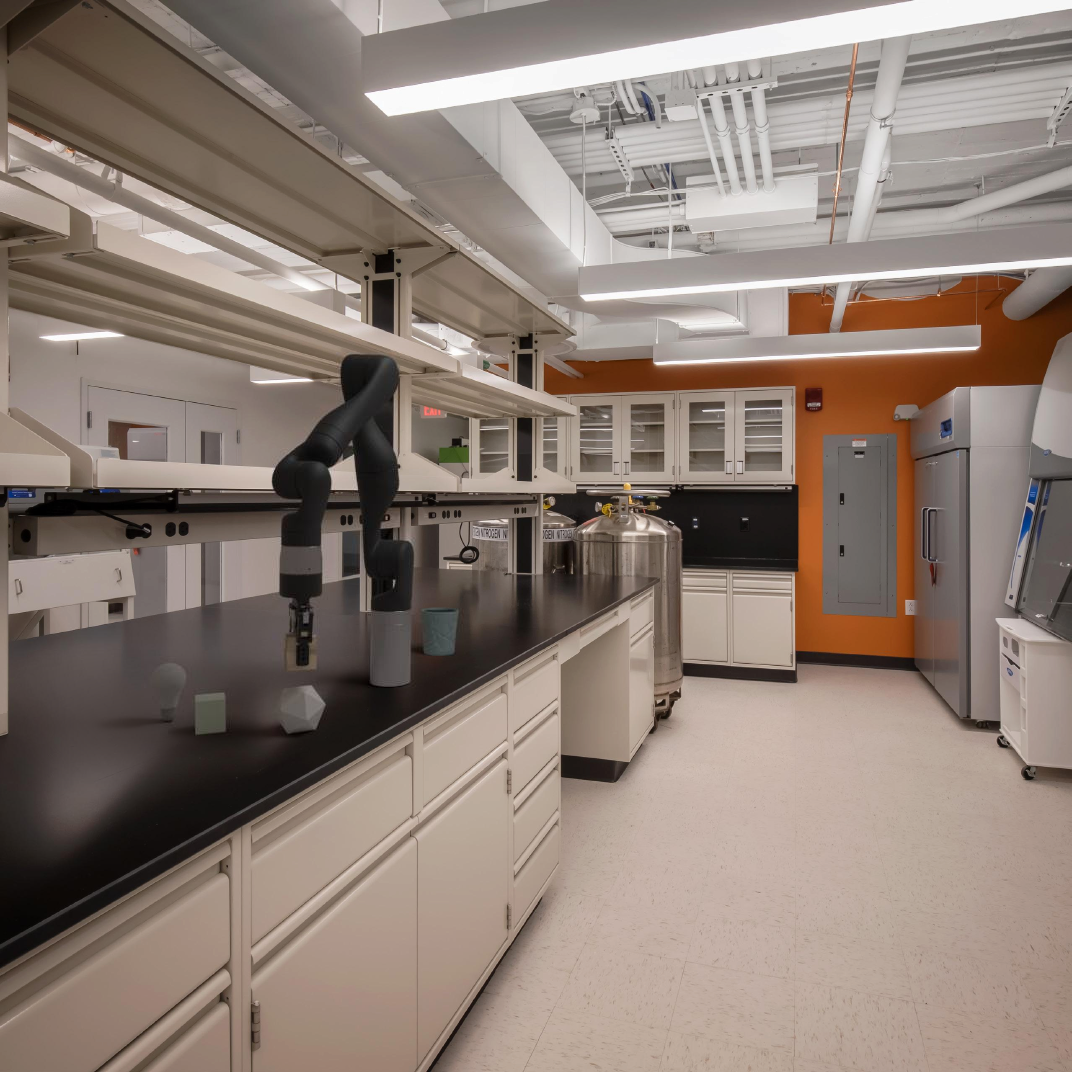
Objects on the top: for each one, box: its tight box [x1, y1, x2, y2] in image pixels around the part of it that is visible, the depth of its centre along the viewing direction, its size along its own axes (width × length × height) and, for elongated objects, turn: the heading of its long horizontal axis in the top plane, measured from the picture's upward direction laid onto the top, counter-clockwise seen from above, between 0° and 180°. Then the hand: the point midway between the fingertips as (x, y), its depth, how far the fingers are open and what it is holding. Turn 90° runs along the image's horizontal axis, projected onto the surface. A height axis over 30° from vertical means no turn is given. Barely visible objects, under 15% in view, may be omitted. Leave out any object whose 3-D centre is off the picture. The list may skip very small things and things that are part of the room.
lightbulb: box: [149, 662, 187, 722], centre depth 140 cm, size 6×6×11 cm
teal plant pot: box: [421, 607, 459, 657], centre depth 207 cm, size 10×10×12 cm
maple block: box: [283, 631, 318, 672], centre depth 136 cm, size 5×5×6 cm
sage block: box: [194, 692, 227, 736], centre depth 136 cm, size 5×5×6 cm
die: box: [273, 684, 326, 734], centre depth 137 cm, size 8×9×10 cm
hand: (300, 661), depth 136 cm, fingers closed on maple block, 5 cm apart
